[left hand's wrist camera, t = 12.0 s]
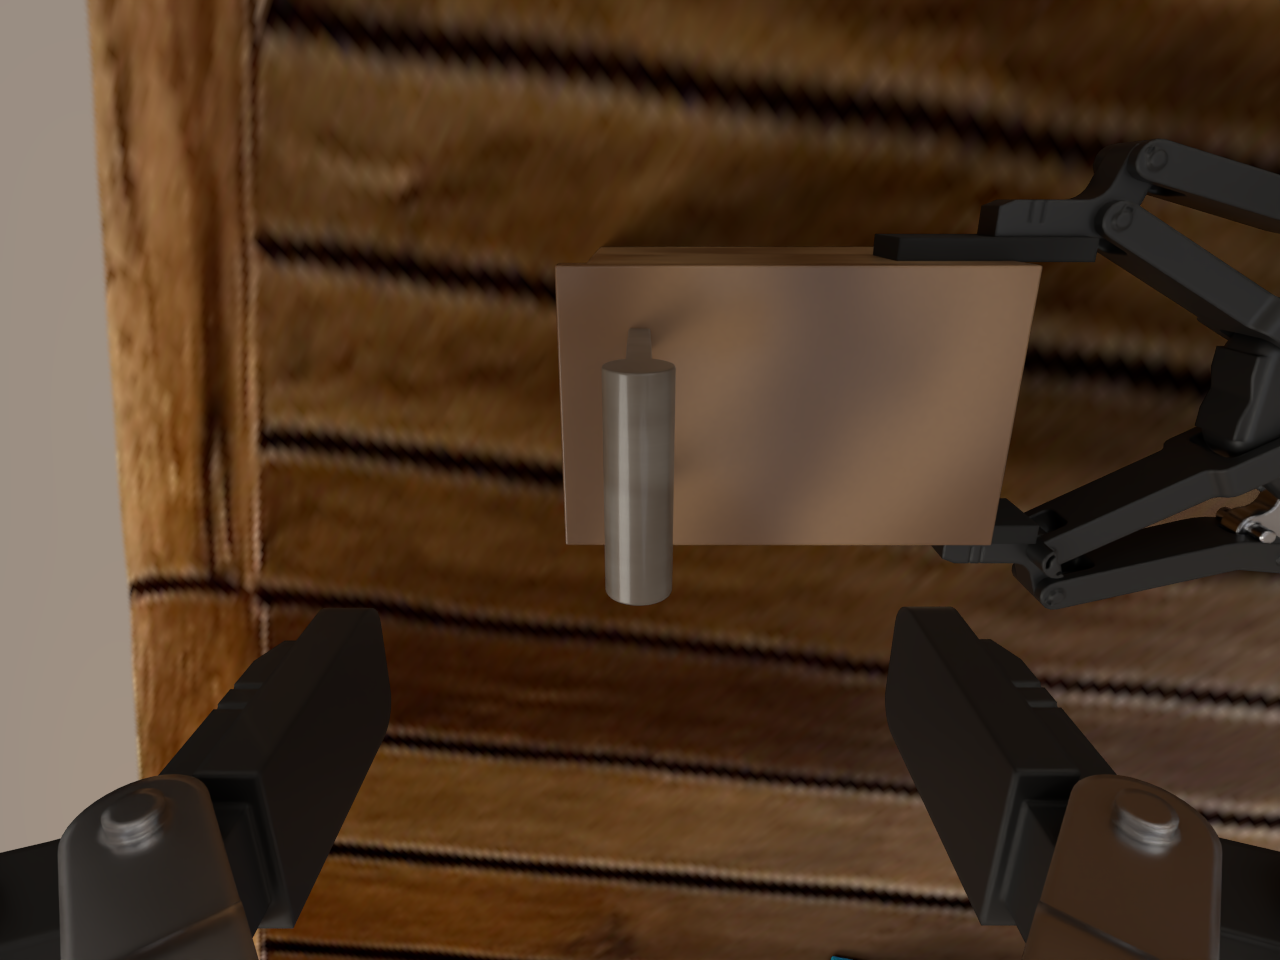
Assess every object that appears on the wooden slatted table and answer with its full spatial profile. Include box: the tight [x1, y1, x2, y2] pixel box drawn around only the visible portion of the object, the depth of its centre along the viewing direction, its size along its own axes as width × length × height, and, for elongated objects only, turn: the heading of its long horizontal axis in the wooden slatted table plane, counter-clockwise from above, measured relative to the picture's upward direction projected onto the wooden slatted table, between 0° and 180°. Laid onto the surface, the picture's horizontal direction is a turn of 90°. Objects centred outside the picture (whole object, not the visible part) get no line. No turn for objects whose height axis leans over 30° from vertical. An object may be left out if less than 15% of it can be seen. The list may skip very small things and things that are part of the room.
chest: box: [587, 247, 1024, 263], centre depth 29 cm, size 14×10×9 cm
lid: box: [555, 263, 1042, 605], centre depth 21 cm, size 15×10×8 cm, turn 90°
